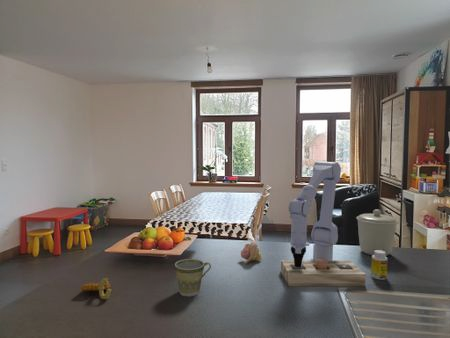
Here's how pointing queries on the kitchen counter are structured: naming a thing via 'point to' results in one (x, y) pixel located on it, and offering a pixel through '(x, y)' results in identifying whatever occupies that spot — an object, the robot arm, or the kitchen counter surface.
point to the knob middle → (321, 264)
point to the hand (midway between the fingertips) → (297, 266)
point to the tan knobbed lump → (251, 252)
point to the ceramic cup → (190, 276)
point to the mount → (323, 274)
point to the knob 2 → (344, 266)
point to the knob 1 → (297, 267)
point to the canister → (376, 232)
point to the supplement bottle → (379, 265)
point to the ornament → (99, 288)
